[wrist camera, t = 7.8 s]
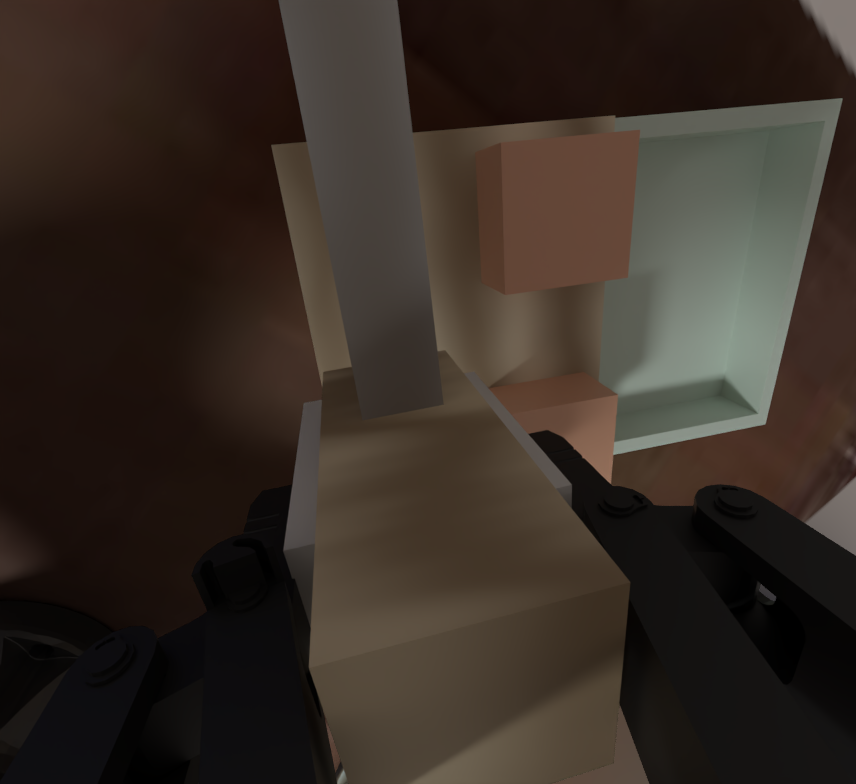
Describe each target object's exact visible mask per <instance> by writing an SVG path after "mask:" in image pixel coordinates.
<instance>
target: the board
mask: <svg viewBox="0 0 856 784" xmlns="http://www.w3.org/2000/svg"><path fill="white" fill-rule="evenodd" d="M614 130H615V115H612V116H601V117H589V118H578V119H566V120H555V121H543V122H531V123H520V124H508V125H497V126H485V127H473V128H462V129H450V130H439V131H427V132H415V133H413V141H414V150H415V159H416V168H417V176H418V185H419V194H420V203H421V211H422V220H423V229H424V238H425V246H426V255H427V264H428V272H429V281H430V290H431V299H432V307H433V316H434V325H435V334H436V342H437V351H443V350H446V352H447V353H448V354H449V355H450V357H451V358H452V359H453V360H454V362H455V363H456V364H457V366H458V367H459V368H460V369H461V371H462V372H463V373H469V372H475V373H476V374H477V376H478V377H479V378H480V379H481V380H482V381H483V383H484V384H485V385H486V386H487V387H488V388H493V387H499V386H505V385H510V384H516V383H522V382H528V381H534V380H540V379H545V378H551V377H557V376H563V375H569V374H575V373H580V372H585V373H586V374H588V375H589V376H591V377H592V378H594V379H595V380H597V381H598V382H599V369H600V353H601V337H602V321H603V305H604V289H605V281H601V282H594V283H587V284H580V285H573V286H566V287H559V288H552V289H545V290H538V291H531V292H524V293H517V294H509V295H504V294H502V293H500V292H498V291H496V290H494V289H492V288H490V287H489V286H487V285H485V284H483V283H481V262H480V241H479V220H478V200H477V179H476V158H475V152H477V151H480V150H482V149H485V148H488V147H490V146H493V145H496V144H498V143H501V142H511V141H522V140H533V139H544V138H555V137H566V136H577V135H588V134H599V133H609V132H614ZM271 147H272V152H273V156H274V161H275V166H276V171H277V175H278V180H279V185H280V190H281V194H282V199H283V204H284V208H285V213H286V218H287V223H288V227H289V232H290V237H291V242H292V246H293V251H294V256H295V261H296V265H297V270H298V275H299V279H300V284H301V289H302V294H303V298H304V303H305V308H306V313H307V317H308V322H309V327H310V332H311V336H312V341H313V346H314V350H315V355H316V360H317V365H318V369H319V374H320V379H321V384H322V386H323V372H325V371H330V370H336V369H342V368H347V367H352V365H351V360H350V355H349V350H348V345H347V340H346V335H345V330H344V325H343V320H342V315H341V310H340V305H339V300H338V295H337V290H336V285H335V280H334V275H333V270H332V265H331V260H330V255H329V250H328V245H327V240H326V235H325V230H324V225H323V220H322V215H321V210H320V205H319V200H318V195H317V190H316V185H315V180H314V175H313V170H312V165H311V160H310V155H309V150H308V145H307V142H299V143H288V144H276V145H271Z"/></svg>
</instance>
